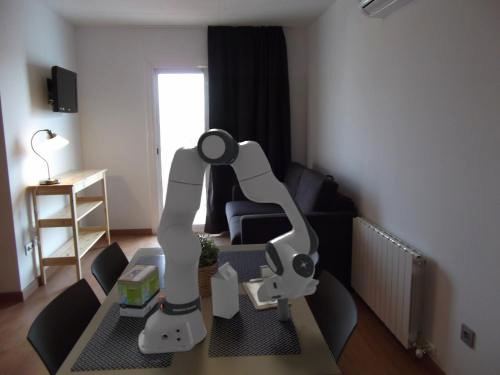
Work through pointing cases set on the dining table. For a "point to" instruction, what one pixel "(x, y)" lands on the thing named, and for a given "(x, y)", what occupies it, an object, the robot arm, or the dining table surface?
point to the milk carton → (225, 292)
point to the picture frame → (266, 272)
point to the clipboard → (252, 290)
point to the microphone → (283, 309)
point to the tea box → (138, 290)
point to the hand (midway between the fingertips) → (282, 298)
